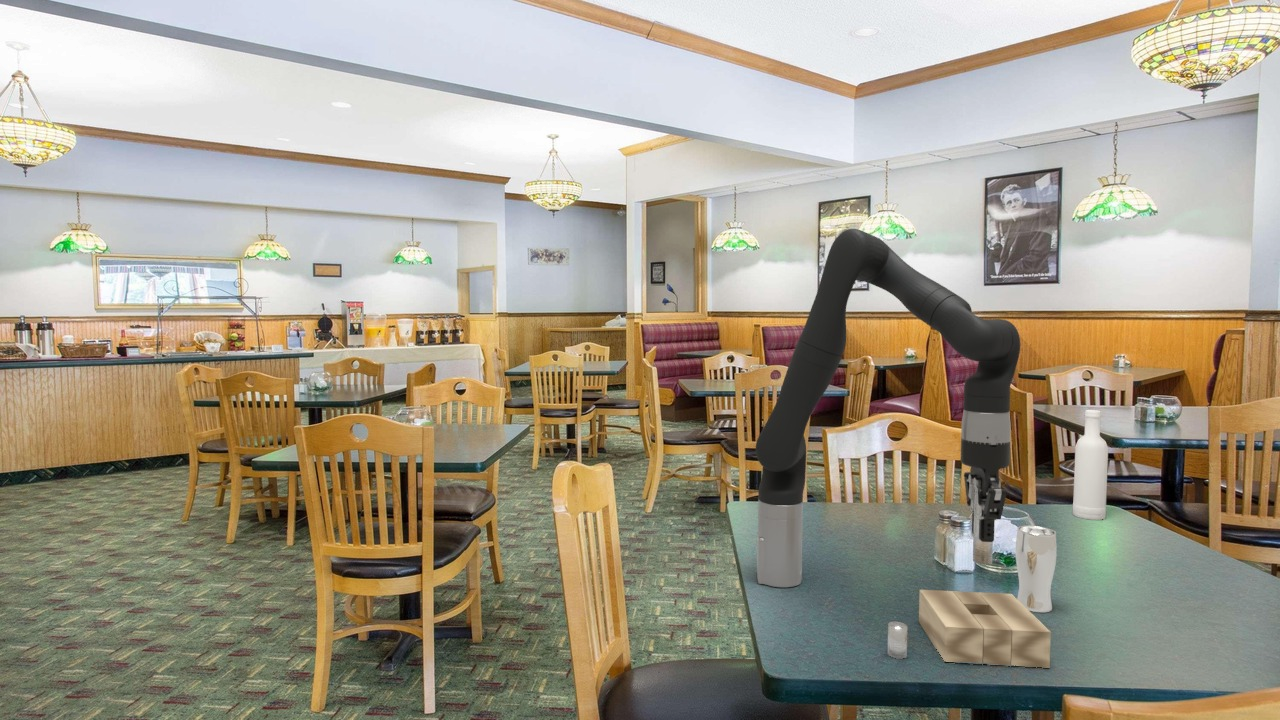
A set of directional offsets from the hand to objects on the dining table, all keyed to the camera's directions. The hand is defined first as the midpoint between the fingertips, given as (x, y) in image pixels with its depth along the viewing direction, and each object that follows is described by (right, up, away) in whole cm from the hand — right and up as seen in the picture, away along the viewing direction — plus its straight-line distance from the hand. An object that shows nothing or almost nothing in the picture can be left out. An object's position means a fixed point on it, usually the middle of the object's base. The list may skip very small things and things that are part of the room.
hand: (982, 537), depth 123 cm
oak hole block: (0, -18, +1) cm, 18 cm away
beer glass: (+18, -18, +17) cm, 30 cm away
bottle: (+68, -14, +80) cm, 106 cm away
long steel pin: (0, -4, 0) cm, 4 cm away
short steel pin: (-16, -19, -3) cm, 25 cm away
